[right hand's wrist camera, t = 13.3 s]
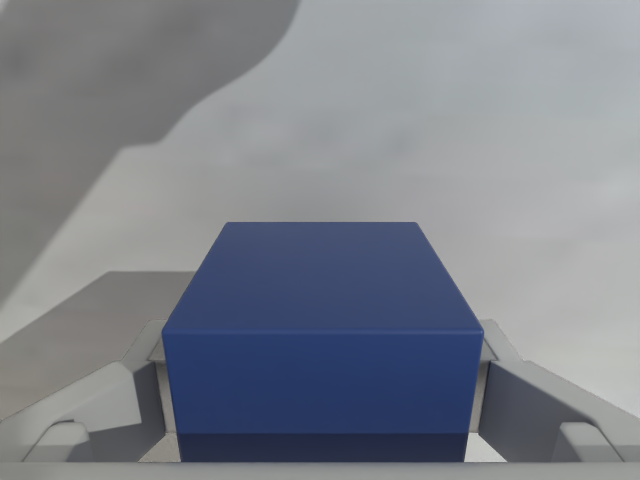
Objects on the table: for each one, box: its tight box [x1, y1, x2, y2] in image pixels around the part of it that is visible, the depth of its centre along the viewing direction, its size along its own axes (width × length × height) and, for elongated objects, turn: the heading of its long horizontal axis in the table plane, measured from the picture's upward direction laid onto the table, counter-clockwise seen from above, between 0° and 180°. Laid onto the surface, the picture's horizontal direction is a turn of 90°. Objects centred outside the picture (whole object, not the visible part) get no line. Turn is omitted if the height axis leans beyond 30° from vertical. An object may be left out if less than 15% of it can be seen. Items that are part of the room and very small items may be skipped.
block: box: [161, 222, 484, 462], centre depth 10 cm, size 5×5×5 cm
